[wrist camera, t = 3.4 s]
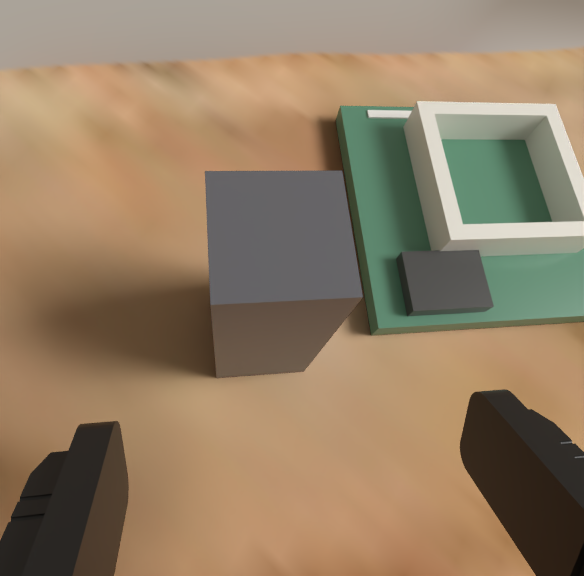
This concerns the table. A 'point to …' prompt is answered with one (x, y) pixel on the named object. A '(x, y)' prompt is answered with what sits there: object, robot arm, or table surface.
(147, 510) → the table surface
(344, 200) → the plug
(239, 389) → the table surface
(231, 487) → the table surface
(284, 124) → the table surface
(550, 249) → the header board
